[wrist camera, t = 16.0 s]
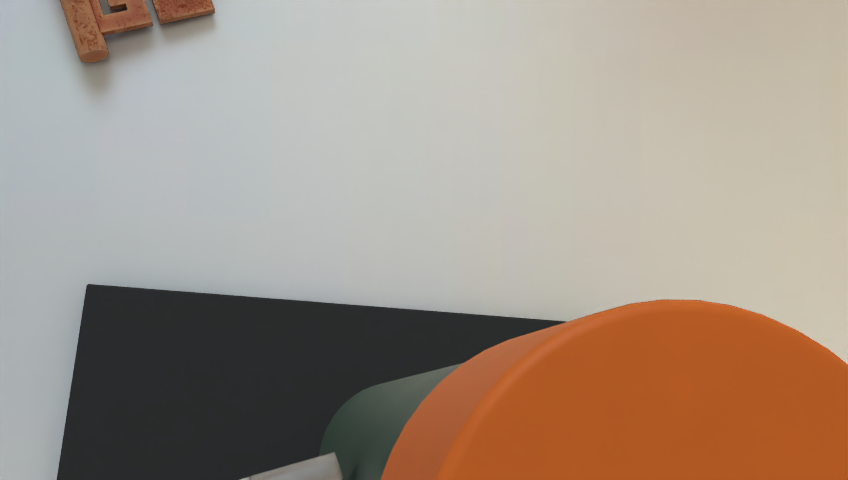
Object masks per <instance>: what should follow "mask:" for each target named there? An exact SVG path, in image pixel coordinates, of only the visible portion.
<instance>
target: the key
mask: <svg viewBox="0 0 848 480" xmlns="http://www.w3.org/2000/svg"><path fill="white" fill-rule="evenodd" d="M107 1H108V4H109V7H110V10H114V9H119V8H124V7H127V10H125V11H121V12H116V13H112V14H107V15H103V12H102V9H101V7H100V4H99V1H98V0H60V2H61V5H62V8H63V11H64V14H65V17H66V20H67V23H68V26H69V29H70V32H71V35H72V38H73V41H74V43H75V46H76V49H77V52H78V55H79V58H80V60H81V61H83V62H87V63H89V62H97V61H101V60H103V59H105V58H106V57H108V55H109V51H108V48H107V46H106V43H105V40H104V37H103V36H105V35H110V34H115V33H120V32H124V31H129V30H134V29H139V28H143V27H148V26H153V24H152V20H151V17H150V14H149V11H148V8H147V6H146V3H145V0H107ZM152 2H153V5H154V8H155V10H156V13H157V16H158V19H159V22H160V24H163V23H167V22H172V21H177V20H182V19H186V18H191V17H196V16H201V15H206V14H210V13H215V9H214V6H213V3H212V1H211V0H152Z"/></svg>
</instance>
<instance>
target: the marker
mask: <svg viewBox="0 0 848 480" xmlns="http://www.w3.org/2000/svg"><path fill="white" fill-rule="evenodd" d="M333 452H335V455H336V458H337V461H338V464H339V467H340V470H341V473H342V476H343V479H344V480H848V364H846V363H845V362H844V361H843V360H841V359H840V358H839V357H837V356H836V355H835V354H834V353H832V352H831V351H830V350H829V349H827V348H825V347H824V346H822V345H820V344H819V343H817V342H815V341H814V340H812V339H810V338H809V337H807V336H806V335H804V334H802V333H801V332H799V331H797V330H795V329H793V328H791V327H789V326H786V325H784V324H782V323H780V322H777V321H775V320H773V319H771V318H769V317H766V316H764V315H762V314H758V313H755V312H751V311H748V310H745V309H741V308H738V307H735V306H731V305H726V304H719V303H713V302H706V301H700V300H656V301H648V302H640V303H633V304H628V305H624V306H620V307H617V308H613V309H610V310H606V311H602V312H599V313H595V314H592V315H589V316H585V317H582V318H579V319H575V320H572V321H569V322H566V323H562V324H559V325H556V326H552V327H549V328H546V329H542V330H539V331H536V332H533V333H529V334H526V335H523V336H519V337H516V338H513V339H509V340H507V341H505V342H502V343H500V344H498V345H495V346H493V347H491V348H489V349H486V350H484V351H483V352H481V353H479V354H478V355H476V356H474V357H473V358H471V359H470V360H468V361H466V362H465V363H461V364H457V365H453V366H449V367H445V368H441V369H437V370H433V371H429V372H425V373H421V374H417V375H413V376H409V377H405V378H401V379H398V380H394V381H390V382H386V383H382V384H378V385H375V386H371V387H369V388H367V389H364V390H362V391H361V392H359V393H357V394H356V395H354V396H353V397H352V398H350V399H349V400H348V401H346V402H345V403H344V404H343V405H342V406H341V408H340V409H339V410H338V411H337V412H336V414H335V415H334V416H333V418H332V419H331V421H330V423H329V425H328V426H327V429H326V431H325V433H324V436H323V439H322V443H321V446H320V453H319V456H323V455H326V454H330V453H333Z"/></svg>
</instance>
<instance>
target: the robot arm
mask: <svg viewBox="0 0 848 480" xmlns="http://www.w3.org/2000/svg"><path fill="white" fill-rule="evenodd" d="M240 480H344V479H343V476H342V473H341V470H340V467H339V464H338V461H337V458H336V455H335V452H333V453H330V454H326V455H323V456H319V457H316V458H312V459H309V460H305V461H302V462H298V463H295V464H291V465H287V466H284V467H280V468H277V469H273V470H270V471H266V472H263V473H259V474H256V475H252V476H251V477H247V478H243V479H240Z"/></svg>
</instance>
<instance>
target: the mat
mask: <svg viewBox="0 0 848 480" xmlns="http://www.w3.org/2000/svg"><path fill="white" fill-rule="evenodd" d="M562 323H566V322H565V321H552V320H539V319H526V318H514V317H501V316H488V315H475V314H463V313H450V312H437V311H424V310H412V309H399V308H386V307H373V306H361V305H348V304H335V303H322V302H309V301H297V300H284V299H271V298H258V297H246V296H233V295H220V294H207V293H195V292H182V291H169V290H156V289H144V288H131V287H118V286H105V285H92V284H88V285H87V287H86V294H85V300H84V307H83V313H82V320H81V326H80V333H79V339H78V346H77V352H76V359H75V365H74V372H73V378H72V385H71V391H70V398H69V404H68V411H67V417H66V424H65V430H64V436H63V443H62V449H61V456H60V462H59V469H58V475H57V480H240V479H243V478H247V477H251V476H252V475H256V474H259V473H263V472H266V471H270V470H273V469H277V468H280V467H284V466H287V465H291V464H295V463H298V462H302V461H305V460H309V459H312V458H316V457H319V453H320V446H321V443H322V439H323V436H324V433H325V431H326V429H327V426H328V425H329V423H330V421H331V419H332V418H333V416H334V415H335V414H336V412H337V411H338V410H339V409H340V408H341V406H342V405H343V404H344V403H345V402H346V401H348V400H349V399H350V398H352V397H353V396H354V395H356V394H357V393H359V392H361V391H362V390H364V389H367V388H369V387H371V386H375V385H378V384H382V383H386V382H390V381H394V380H398V379H401V378H405V377H409V376H413V375H417V374H421V373H425V372H429V371H433V370H437V369H441V368H445V367H449V366H453V365H457V364H461V363H465V362H466V361H468V360H470V359H471V358H473V357H474V356H476V355H478V354H479V353H481V352H483V351H484V350H486V349H489V348H491V347H493V346H495V345H498V344H500V343H502V342H505V341H507V340H509V339H513V338H516V337H519V336H523V335H526V334H529V333H533V332H536V331H539V330H542V329H546V328H549V327H552V326H556V325H559V324H562Z"/></svg>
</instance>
